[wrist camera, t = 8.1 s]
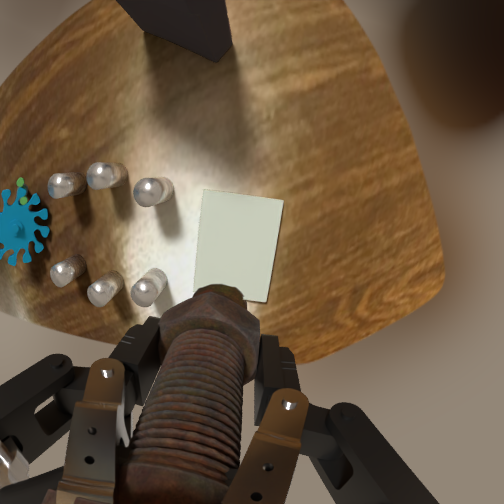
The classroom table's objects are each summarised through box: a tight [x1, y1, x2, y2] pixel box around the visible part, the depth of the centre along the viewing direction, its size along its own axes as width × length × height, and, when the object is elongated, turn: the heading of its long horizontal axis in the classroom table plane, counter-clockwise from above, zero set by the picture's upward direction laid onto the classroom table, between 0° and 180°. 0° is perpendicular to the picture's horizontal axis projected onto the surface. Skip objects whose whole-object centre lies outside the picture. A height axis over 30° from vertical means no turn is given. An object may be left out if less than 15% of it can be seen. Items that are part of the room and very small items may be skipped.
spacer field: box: [48, 163, 174, 307], centre depth 27 cm, size 14×15×4 cm
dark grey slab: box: [116, 0, 232, 62], centre depth 16 cm, size 11×4×15 cm, turn 55°
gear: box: [0, 178, 50, 266], centre depth 26 cm, size 11×6×10 cm
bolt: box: [42, 284, 260, 504], centre depth 9 cm, size 6×5×15 cm
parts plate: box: [193, 189, 284, 302], centre depth 29 cm, size 8×11×1 cm
